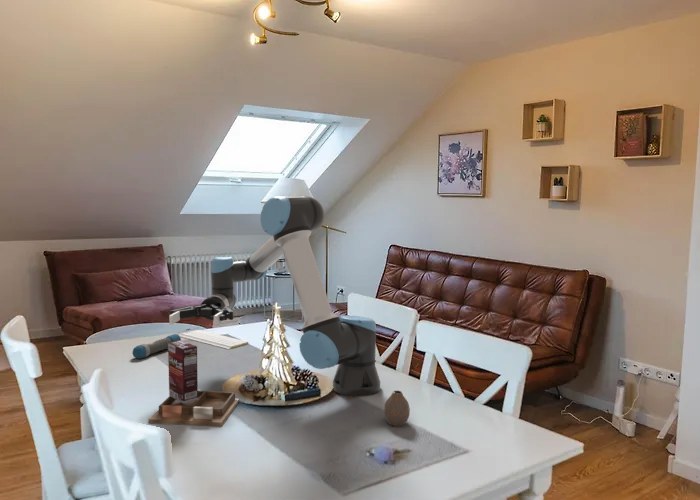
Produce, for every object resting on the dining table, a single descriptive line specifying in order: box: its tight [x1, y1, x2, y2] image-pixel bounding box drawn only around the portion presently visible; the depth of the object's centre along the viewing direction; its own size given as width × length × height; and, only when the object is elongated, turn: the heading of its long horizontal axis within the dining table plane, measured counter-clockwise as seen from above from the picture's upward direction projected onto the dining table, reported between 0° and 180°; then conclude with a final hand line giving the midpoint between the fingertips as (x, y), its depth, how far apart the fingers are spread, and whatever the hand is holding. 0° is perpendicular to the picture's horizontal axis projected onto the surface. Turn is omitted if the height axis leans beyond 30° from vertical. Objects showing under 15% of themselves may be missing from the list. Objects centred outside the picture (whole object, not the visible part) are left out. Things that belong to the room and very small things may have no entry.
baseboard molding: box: [176, 327, 249, 350], centre depth 239 cm, size 31×3×12 cm
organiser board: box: [147, 390, 239, 427], centre depth 163 cm, size 20×18×4 cm
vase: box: [383, 390, 411, 427], centre depth 157 cm, size 7×7×9 cm
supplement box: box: [167, 339, 199, 404], centre depth 165 cm, size 9×5×16 cm, turn 45°
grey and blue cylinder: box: [131, 333, 182, 360], centre depth 221 cm, size 5×22×5 cm, turn 155°
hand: (192, 320), depth 173 cm, fingers open, 13 cm apart
